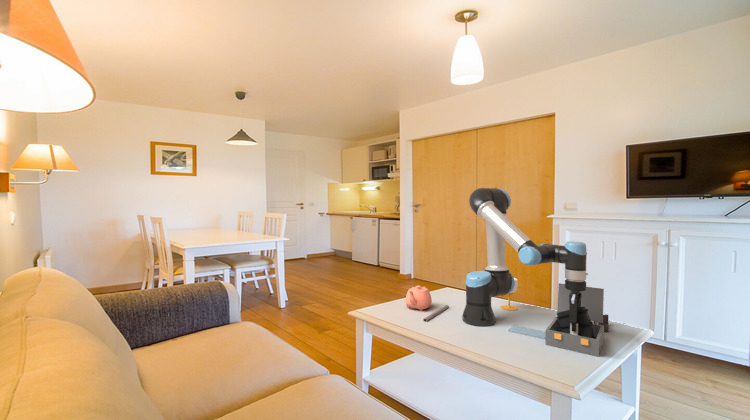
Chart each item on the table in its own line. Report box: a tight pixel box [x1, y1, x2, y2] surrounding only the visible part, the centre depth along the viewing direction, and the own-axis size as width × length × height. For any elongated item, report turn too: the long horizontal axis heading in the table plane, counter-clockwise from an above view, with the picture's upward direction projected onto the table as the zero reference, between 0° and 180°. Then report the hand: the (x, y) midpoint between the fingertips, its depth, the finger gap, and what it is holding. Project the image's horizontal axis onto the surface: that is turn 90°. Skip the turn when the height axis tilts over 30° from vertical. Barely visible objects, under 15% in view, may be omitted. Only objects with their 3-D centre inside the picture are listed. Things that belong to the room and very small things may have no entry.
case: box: [545, 316, 605, 358], centre depth 141 cm, size 18×25×16 cm
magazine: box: [556, 307, 595, 339], centre depth 140 cm, size 4×13×15 cm, turn 43°
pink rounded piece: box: [404, 285, 432, 312], centre depth 187 cm, size 13×20×12 cm, turn 148°
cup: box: [500, 277, 519, 311], centre depth 187 cm, size 9×9×16 cm
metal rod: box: [422, 304, 450, 323], centre depth 177 cm, size 2×27×2 cm, turn 146°
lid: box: [556, 283, 605, 323], centre depth 149 cm, size 17×14×1 cm
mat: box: [507, 324, 546, 340], centre depth 151 cm, size 15×8×1 cm, turn 52°
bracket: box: [592, 313, 610, 333], centre depth 157 cm, size 6×12×5 cm, turn 146°
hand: (575, 336), depth 140 cm, fingers closed on magazine, 4 cm apart
